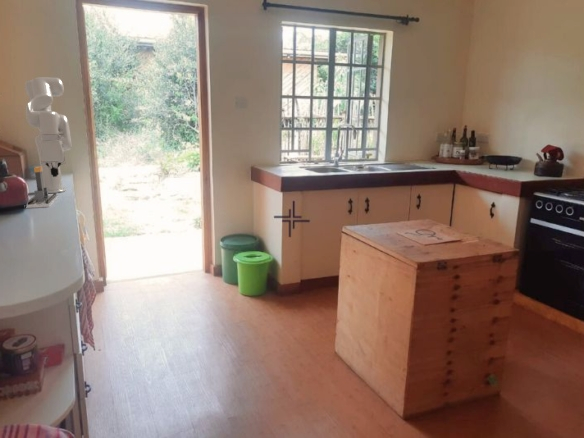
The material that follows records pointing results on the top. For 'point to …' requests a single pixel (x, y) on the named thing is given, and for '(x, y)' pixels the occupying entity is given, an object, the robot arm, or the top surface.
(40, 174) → the lever
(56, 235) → the top surface
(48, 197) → the panel
